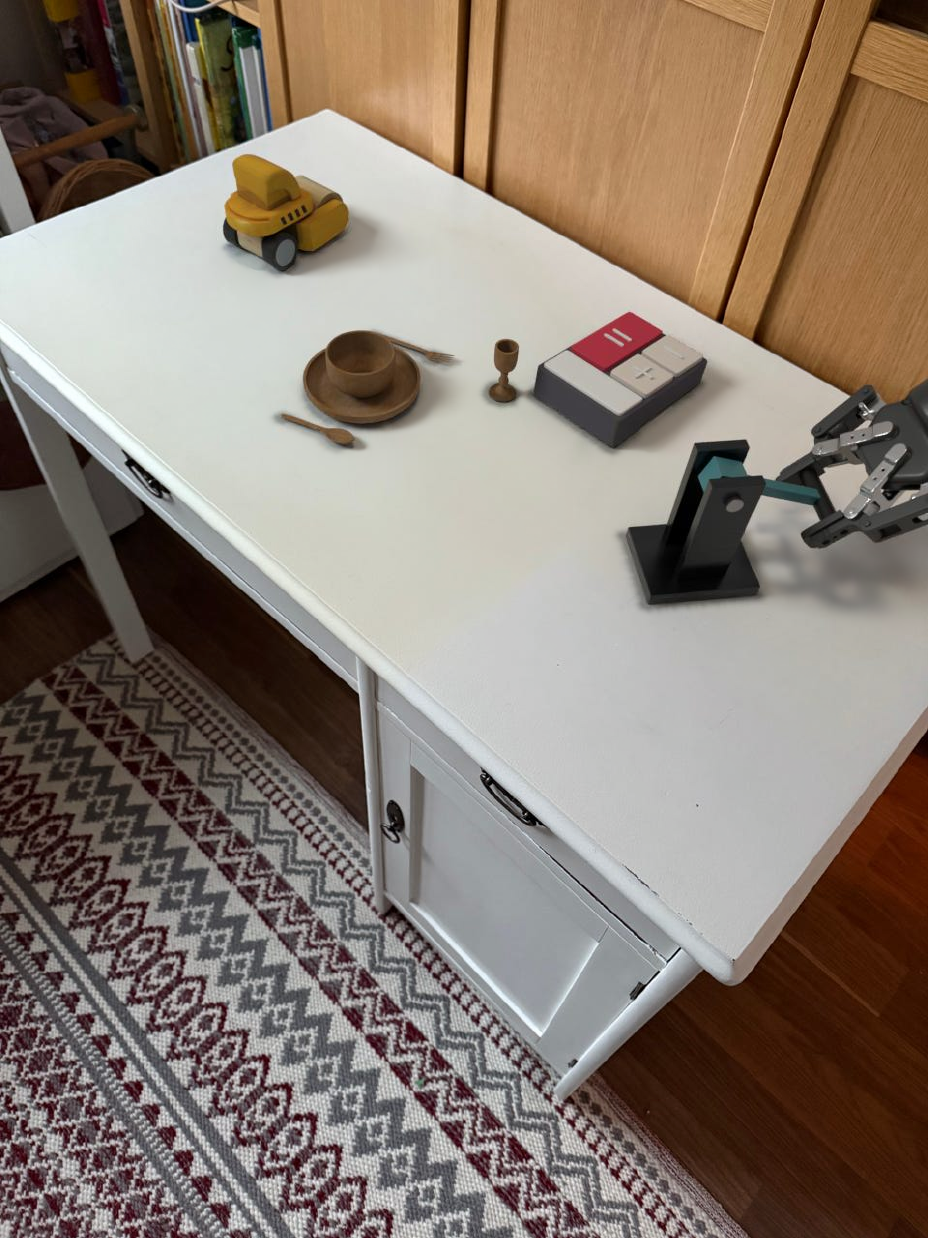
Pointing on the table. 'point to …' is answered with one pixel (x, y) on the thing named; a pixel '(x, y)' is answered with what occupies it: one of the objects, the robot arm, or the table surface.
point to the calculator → (619, 377)
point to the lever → (775, 485)
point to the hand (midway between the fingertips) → (793, 513)
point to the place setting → (378, 379)
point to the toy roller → (280, 212)
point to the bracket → (701, 534)
